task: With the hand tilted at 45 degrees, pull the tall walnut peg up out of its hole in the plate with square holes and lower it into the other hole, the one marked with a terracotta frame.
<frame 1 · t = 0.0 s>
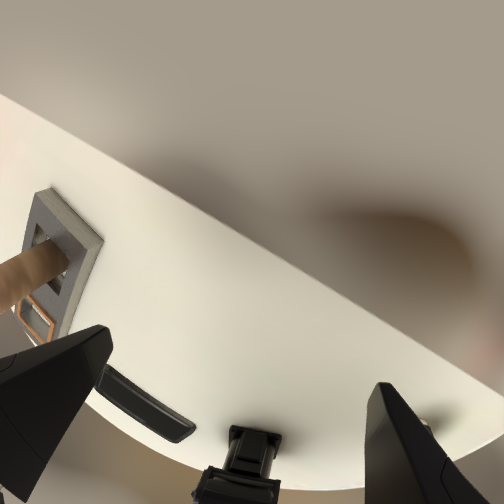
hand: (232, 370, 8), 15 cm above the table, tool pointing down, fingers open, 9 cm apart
phone: (144, 403, 35), on the table
peg: (61, 252, 28), resting in plate with square holes
plate with square holes: (52, 284, 30), on the table
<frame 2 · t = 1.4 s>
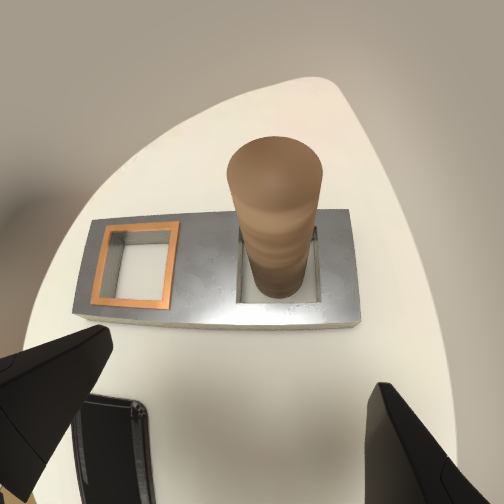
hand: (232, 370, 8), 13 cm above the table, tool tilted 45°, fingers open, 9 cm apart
phone: (115, 472, 18), on the table
peg: (278, 274, 24), resting in plate with square holes
plate with square holes: (208, 275, 24), on the table
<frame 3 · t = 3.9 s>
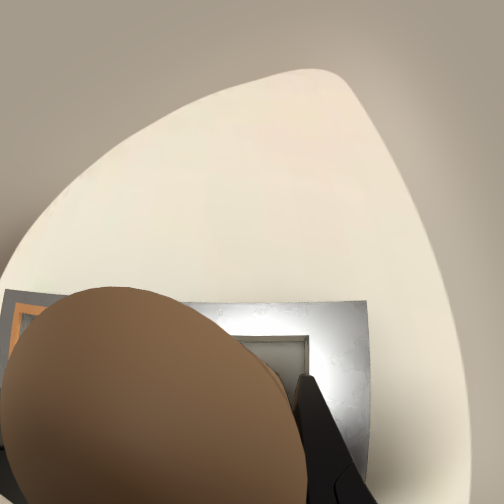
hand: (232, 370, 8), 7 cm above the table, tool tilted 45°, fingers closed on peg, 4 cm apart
peg: (246, 396, 14), resting in plate with square holes, touching gripper
plate with square holes: (145, 387, 15), on the table
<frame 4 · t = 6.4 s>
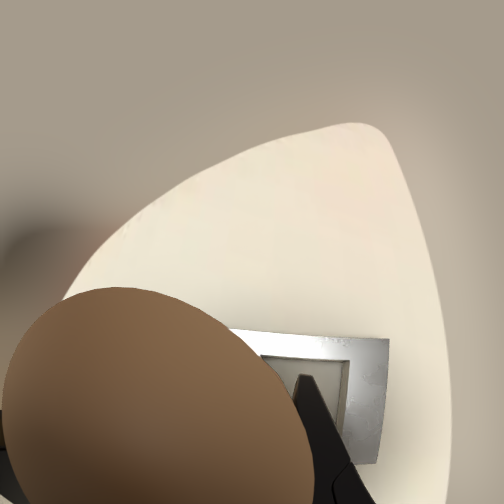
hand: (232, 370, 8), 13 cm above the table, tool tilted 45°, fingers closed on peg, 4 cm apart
peg: (246, 396, 14), point 6 cm above the table, touching gripper
plate with square holes: (220, 390, 20), on the table
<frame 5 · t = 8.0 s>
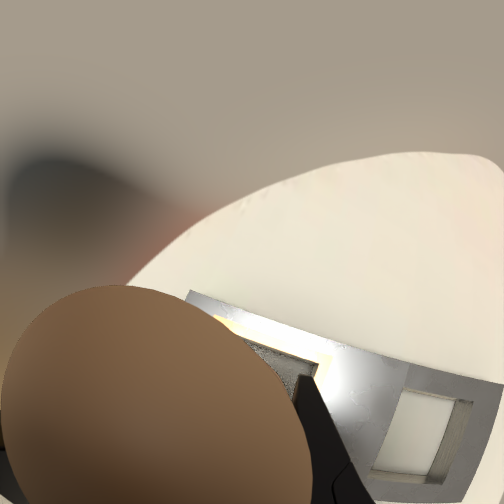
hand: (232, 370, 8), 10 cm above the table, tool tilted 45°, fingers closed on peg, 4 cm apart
peg: (246, 396, 14), point 4 cm above the table, touching gripper
plate with square holes: (337, 418, 16), on the table
when the fingers open (7 cm above the table, at t = 8.9 s): peg stays where it is, resting in plate with square holes.
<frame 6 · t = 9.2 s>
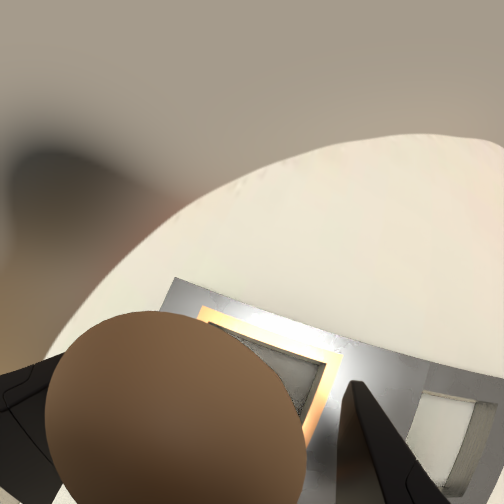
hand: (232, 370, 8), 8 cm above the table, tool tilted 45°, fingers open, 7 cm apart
peg: (248, 396, 15), resting in plate with square holes
plate with square holes: (345, 427, 14), on the table
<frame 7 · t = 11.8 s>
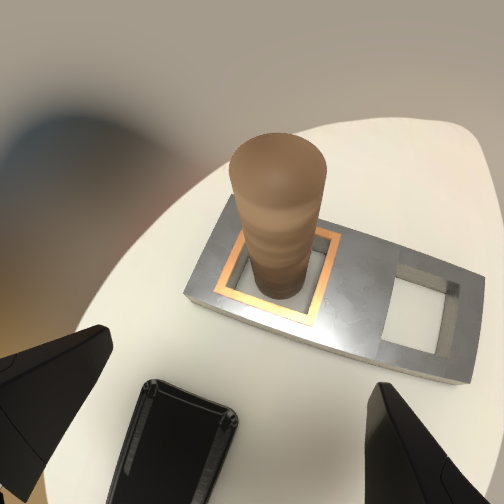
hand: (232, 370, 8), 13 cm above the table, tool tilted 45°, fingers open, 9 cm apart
phone: (167, 470, 18), on the table
peg: (279, 275, 23), resting in plate with square holes
plate with square holes: (348, 297, 22), on the table
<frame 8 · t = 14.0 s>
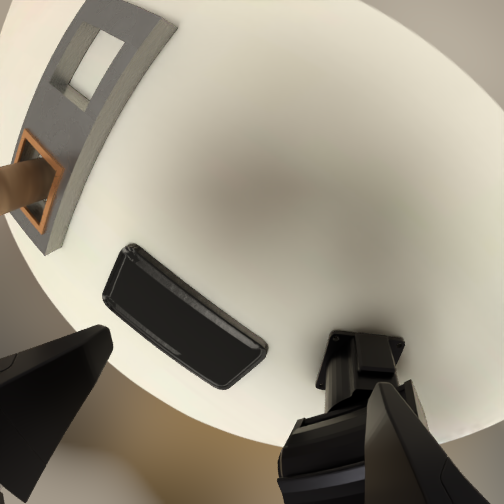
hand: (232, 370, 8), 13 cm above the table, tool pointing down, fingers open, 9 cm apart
phone: (181, 319, 26), on the table
peg: (51, 176, 23), resting in plate with square holes
plate with square holes: (71, 124, 20), on the table
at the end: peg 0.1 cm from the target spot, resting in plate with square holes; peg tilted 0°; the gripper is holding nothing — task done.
